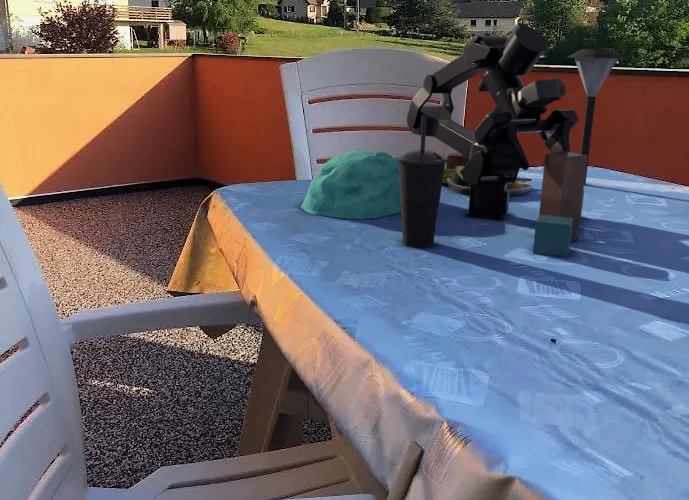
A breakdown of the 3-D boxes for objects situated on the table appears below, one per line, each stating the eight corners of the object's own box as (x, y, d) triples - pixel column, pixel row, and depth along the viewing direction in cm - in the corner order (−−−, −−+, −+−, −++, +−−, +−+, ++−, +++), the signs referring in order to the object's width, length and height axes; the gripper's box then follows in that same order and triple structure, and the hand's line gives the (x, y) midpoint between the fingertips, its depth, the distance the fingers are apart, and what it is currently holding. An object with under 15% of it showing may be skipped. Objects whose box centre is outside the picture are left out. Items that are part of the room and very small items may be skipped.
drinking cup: (410, 252, 107) (416, 119, 102) (384, 240, 114) (389, 114, 108) (451, 246, 111) (460, 117, 105) (424, 235, 117) (430, 112, 112)
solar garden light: (611, 182, 167) (628, 50, 159) (607, 191, 156) (624, 50, 148) (557, 177, 172) (571, 49, 163) (550, 185, 161) (564, 48, 153)
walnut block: (556, 243, 114) (566, 156, 110) (536, 236, 118) (545, 152, 114) (577, 240, 116) (587, 155, 112) (557, 233, 120) (566, 151, 116)
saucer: (429, 183, 159) (430, 174, 159) (431, 177, 168) (431, 168, 167) (468, 185, 158) (469, 176, 158) (468, 179, 166) (469, 170, 166)
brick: (460, 175, 172) (461, 156, 170) (445, 173, 174) (446, 154, 172) (476, 169, 180) (477, 151, 179) (461, 168, 182) (462, 149, 181)
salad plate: (514, 180, 167) (516, 160, 165) (552, 196, 150) (554, 174, 149) (437, 182, 162) (438, 162, 161) (467, 198, 146) (468, 176, 144)
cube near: (532, 253, 108) (535, 221, 107) (537, 245, 113) (540, 214, 111) (566, 257, 106) (570, 225, 105) (569, 248, 111) (573, 217, 110)
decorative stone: (432, 195, 148) (435, 148, 145) (379, 223, 124) (381, 167, 121) (344, 185, 157) (345, 140, 154) (278, 209, 133) (278, 156, 130)
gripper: (490, 60, 112) (532, 138, 106) (576, 61, 121) (620, 133, 114) (457, 107, 121) (494, 181, 115) (540, 104, 130) (578, 174, 123)
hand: (548, 167), depth 117 cm, fingers open, 9 cm apart
